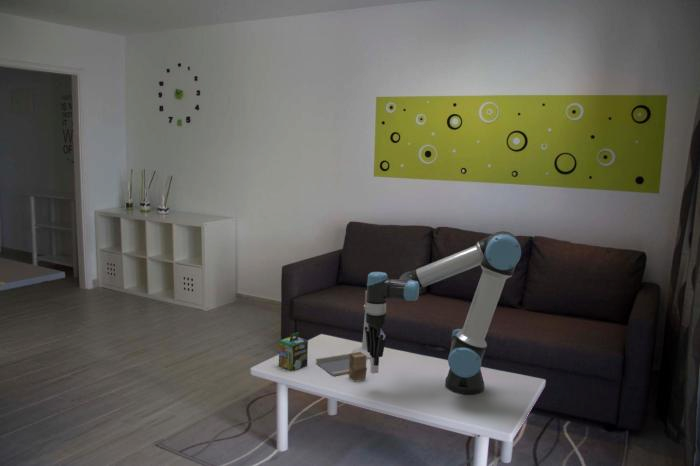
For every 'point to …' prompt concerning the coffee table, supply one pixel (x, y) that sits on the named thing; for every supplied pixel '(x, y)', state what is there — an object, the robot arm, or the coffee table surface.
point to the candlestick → (364, 335)
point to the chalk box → (293, 352)
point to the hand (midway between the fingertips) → (374, 372)
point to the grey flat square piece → (335, 364)
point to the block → (357, 366)
